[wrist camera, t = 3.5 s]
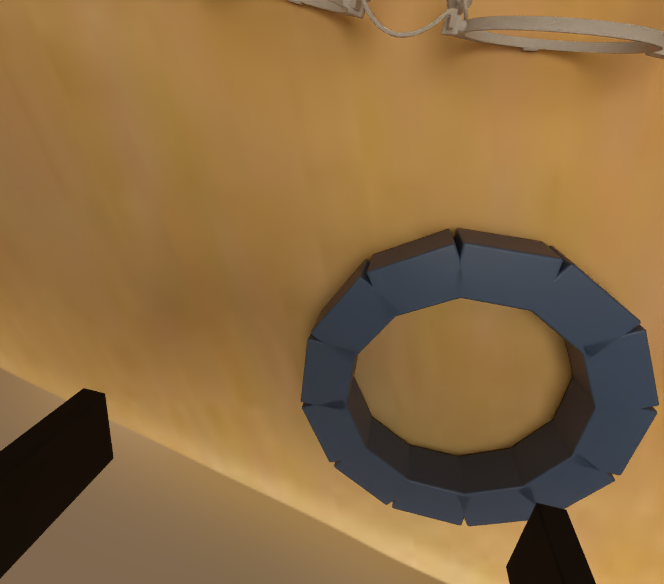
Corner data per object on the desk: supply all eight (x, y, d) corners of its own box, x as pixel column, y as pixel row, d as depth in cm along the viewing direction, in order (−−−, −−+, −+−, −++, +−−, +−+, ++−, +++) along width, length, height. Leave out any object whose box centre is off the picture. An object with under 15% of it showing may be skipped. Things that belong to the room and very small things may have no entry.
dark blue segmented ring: (303, 448, 21) (291, 482, 19) (332, 206, 16) (320, 218, 14) (557, 511, 19) (574, 556, 17) (687, 264, 14) (732, 287, 12)
